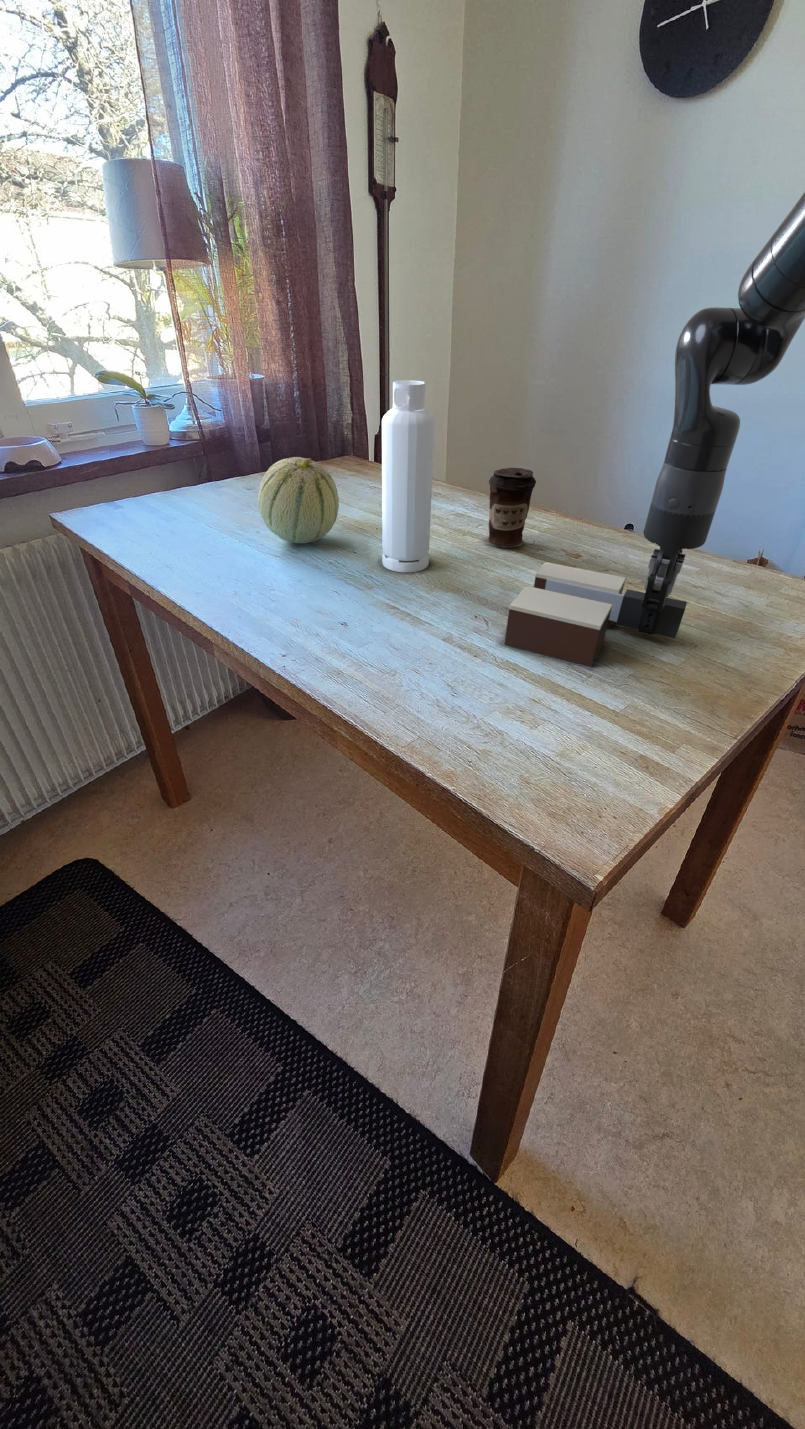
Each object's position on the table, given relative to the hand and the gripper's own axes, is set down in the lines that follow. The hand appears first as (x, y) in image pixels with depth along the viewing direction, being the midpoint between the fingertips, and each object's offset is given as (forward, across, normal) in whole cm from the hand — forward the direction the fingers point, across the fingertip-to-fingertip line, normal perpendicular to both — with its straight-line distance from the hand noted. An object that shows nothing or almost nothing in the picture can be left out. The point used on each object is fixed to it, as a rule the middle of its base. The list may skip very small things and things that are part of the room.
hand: (647, 627), depth 84 cm
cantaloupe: (+2, +7, +64) cm, 64 cm away
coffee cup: (+2, +25, +30) cm, 39 cm away
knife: (0, 0, +6) cm, 6 cm away
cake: (+2, -8, +11) cm, 14 cm away
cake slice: (+2, +3, +11) cm, 11 cm away
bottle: (+2, +7, +42) cm, 42 cm away
